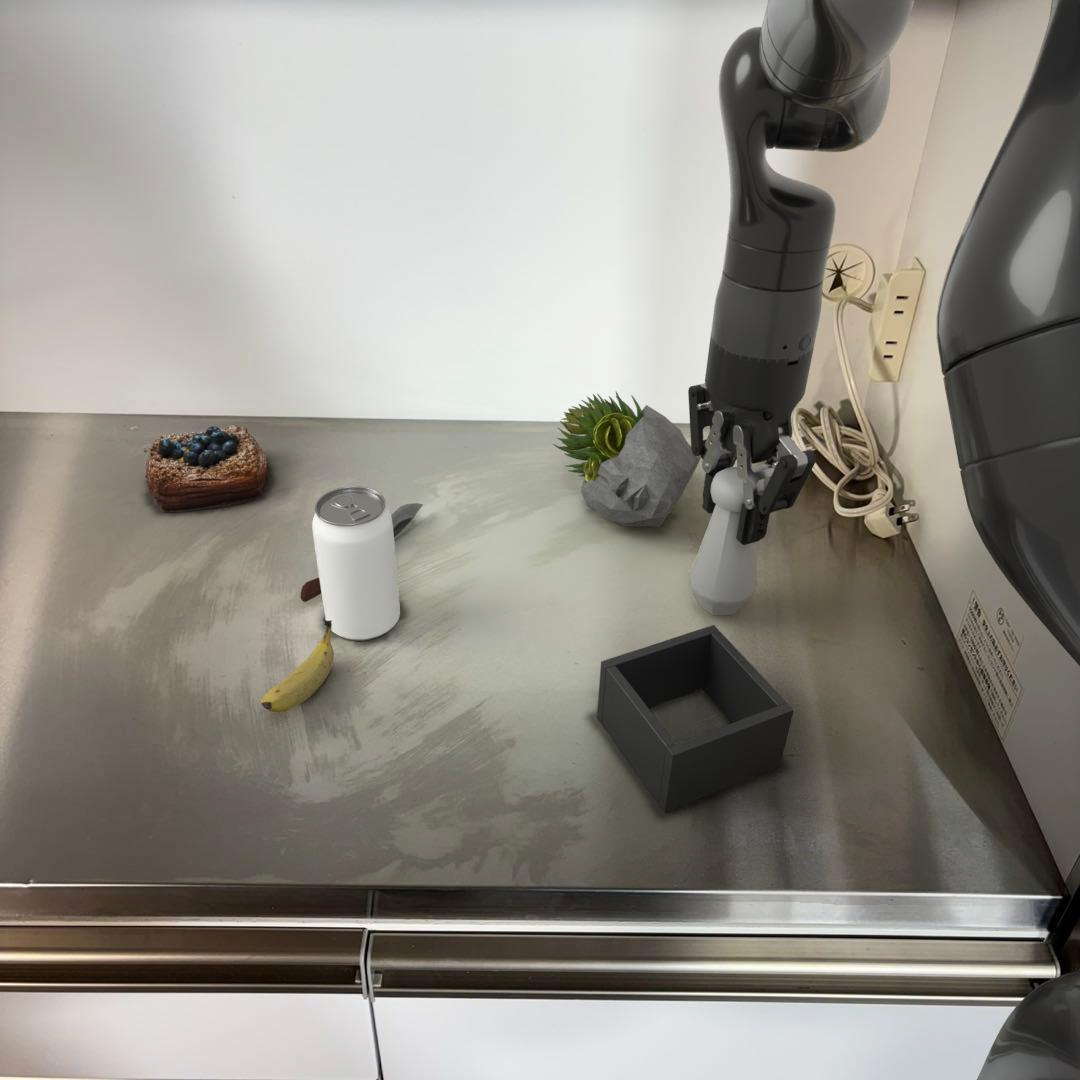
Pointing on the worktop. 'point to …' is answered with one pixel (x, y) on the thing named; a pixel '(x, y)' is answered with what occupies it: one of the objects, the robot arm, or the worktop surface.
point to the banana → (302, 678)
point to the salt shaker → (724, 551)
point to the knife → (399, 522)
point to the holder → (706, 757)
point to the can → (356, 562)
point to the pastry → (206, 469)
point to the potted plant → (628, 460)
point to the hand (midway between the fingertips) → (731, 524)
